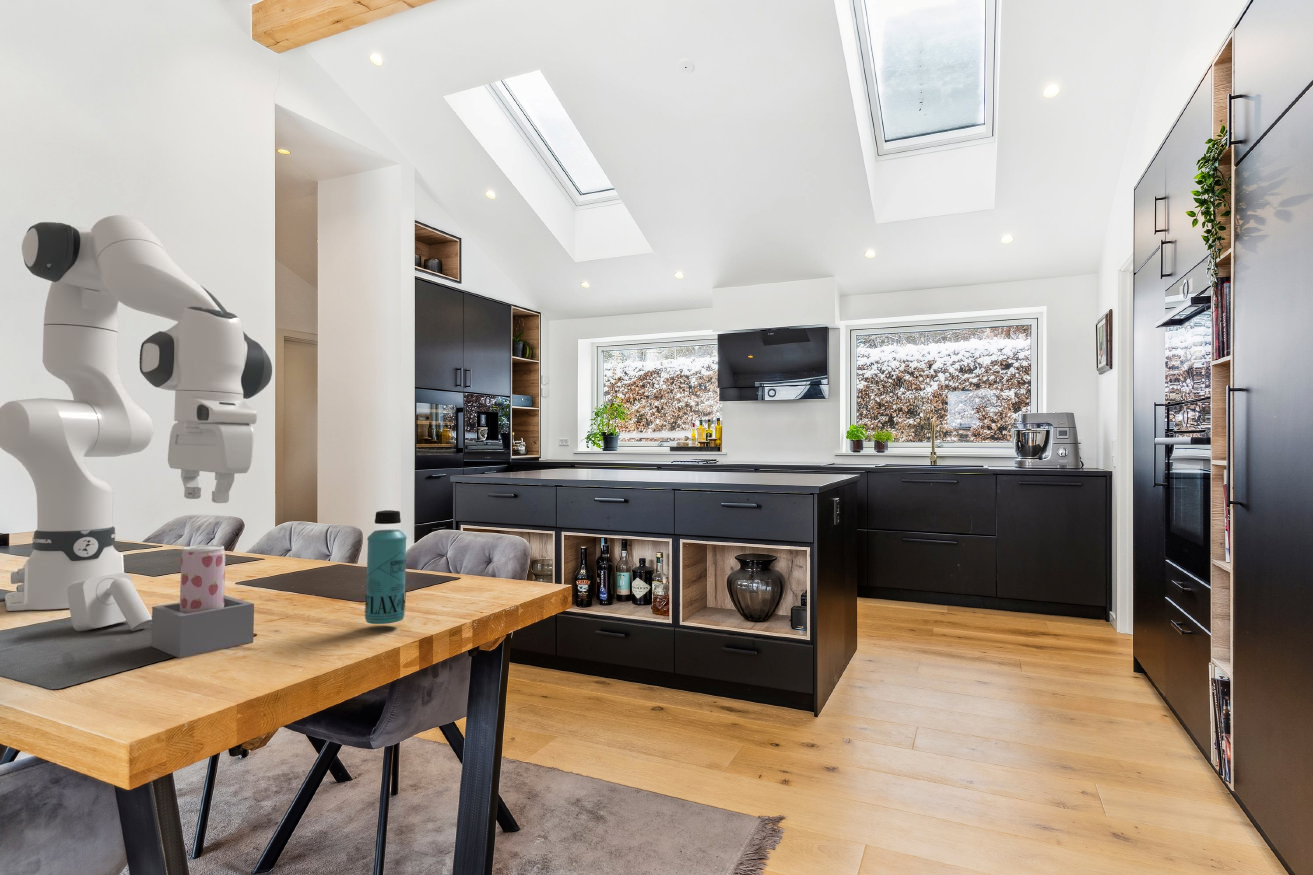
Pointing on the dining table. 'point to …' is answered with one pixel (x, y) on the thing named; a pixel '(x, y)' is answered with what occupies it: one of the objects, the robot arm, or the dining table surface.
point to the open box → (202, 628)
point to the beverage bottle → (386, 572)
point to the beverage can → (202, 578)
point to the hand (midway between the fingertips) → (205, 500)
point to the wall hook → (106, 603)
